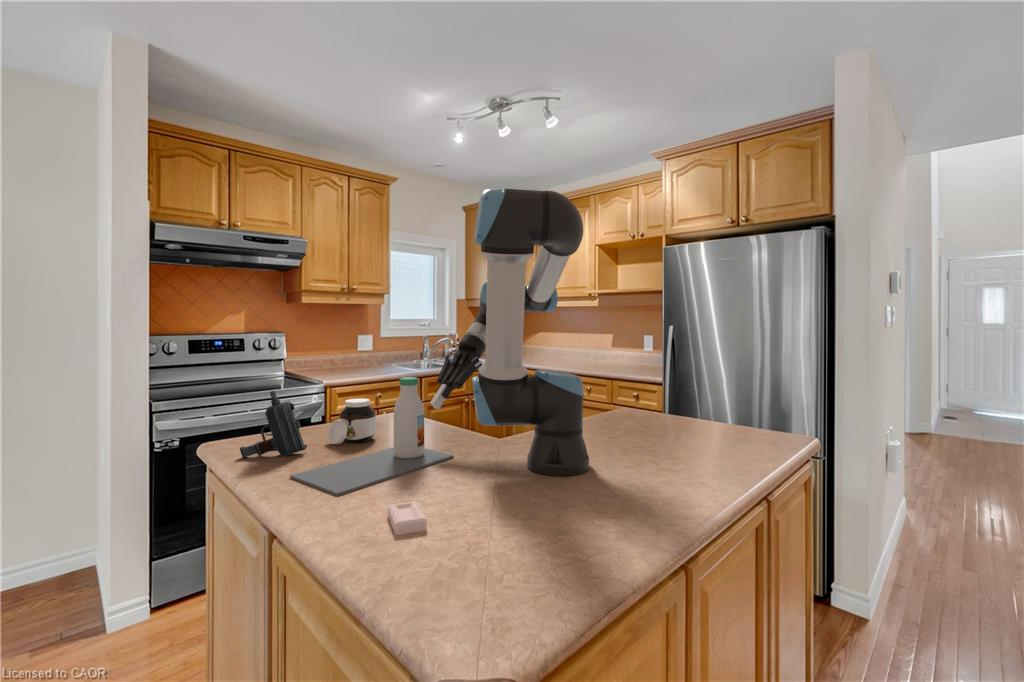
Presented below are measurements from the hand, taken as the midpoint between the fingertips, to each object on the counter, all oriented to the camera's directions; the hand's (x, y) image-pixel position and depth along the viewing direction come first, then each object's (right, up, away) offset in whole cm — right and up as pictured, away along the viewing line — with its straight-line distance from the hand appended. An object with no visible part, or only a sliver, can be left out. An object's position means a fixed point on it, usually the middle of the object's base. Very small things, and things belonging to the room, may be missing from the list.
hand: (434, 405), depth 135 cm
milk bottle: (-5, -12, -6) cm, 15 cm away
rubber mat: (-11, -13, -14) cm, 23 cm away
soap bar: (+2, -15, -46) cm, 48 cm away
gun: (-41, -12, -5) cm, 43 cm away
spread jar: (-25, -12, +9) cm, 29 cm away
